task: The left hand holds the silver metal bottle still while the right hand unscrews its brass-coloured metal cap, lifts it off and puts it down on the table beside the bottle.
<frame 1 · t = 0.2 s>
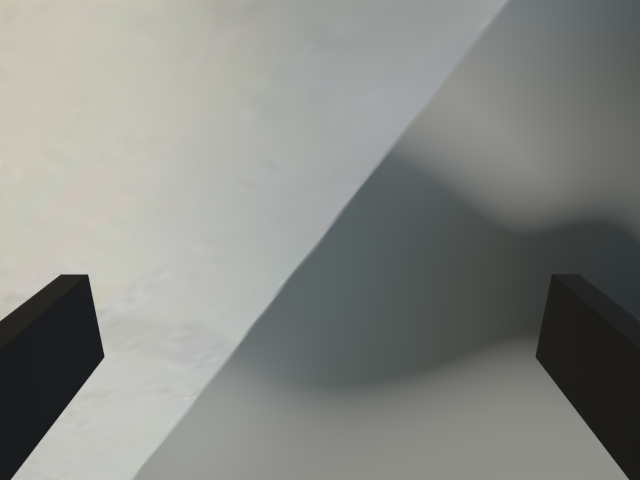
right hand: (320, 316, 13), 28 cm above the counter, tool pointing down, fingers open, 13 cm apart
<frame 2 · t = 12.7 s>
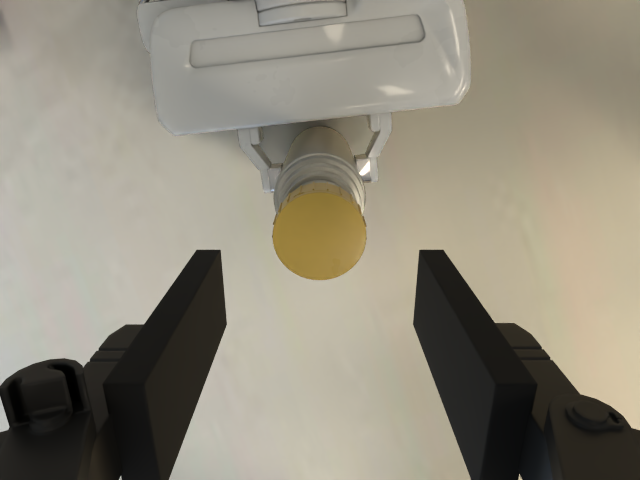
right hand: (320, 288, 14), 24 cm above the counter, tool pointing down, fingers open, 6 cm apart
left hand: (321, 185, 32), fingers closed on bottle, 5 cm apart
cap: (319, 235, 19), point 19 cm above the counter, screwed on, not yet turned
bottle: (319, 158, 37), on the counter, touching left hand
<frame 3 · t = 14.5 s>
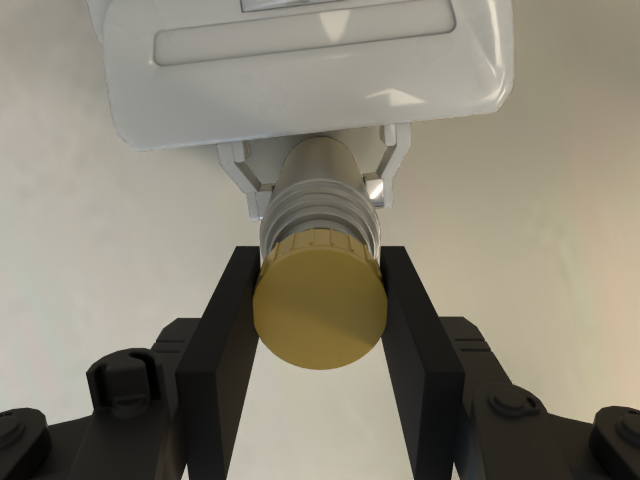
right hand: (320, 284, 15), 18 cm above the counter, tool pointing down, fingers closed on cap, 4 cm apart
left hand: (322, 211, 26), fingers closed on bottle, 5 cm apart
cap: (320, 308, 13), point 19 cm above the counter, screwed on, not yet turned, touching right hand
bottle: (320, 174, 31), on the counter, touching left hand
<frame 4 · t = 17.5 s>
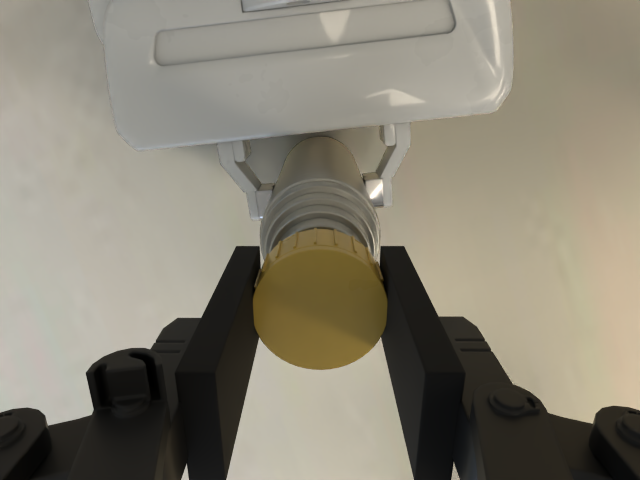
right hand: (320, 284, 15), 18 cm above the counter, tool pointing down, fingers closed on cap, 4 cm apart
left hand: (322, 211, 26), fingers closed on bottle, 5 cm apart
cap: (320, 308, 13), point 19 cm above the counter, turned 100° so far, risen 0.1 cm, still on its thread, touching right hand
bottle: (320, 173, 31), on the counter, touching left hand
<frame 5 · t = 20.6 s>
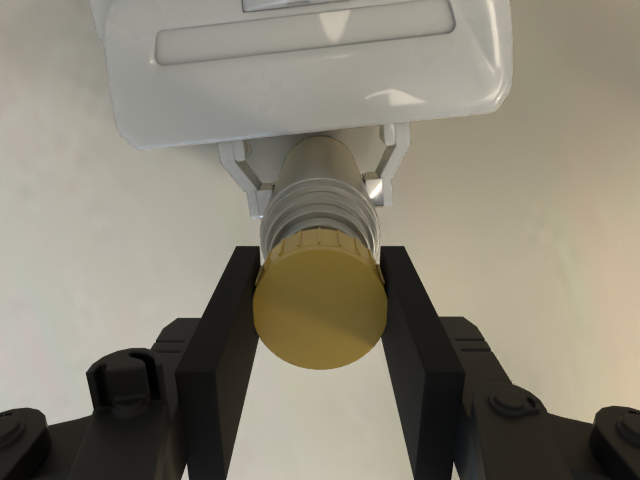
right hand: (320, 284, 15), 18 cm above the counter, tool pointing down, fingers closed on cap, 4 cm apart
left hand: (322, 210, 26), fingers closed on bottle, 5 cm apart
cap: (320, 307, 13), point 19 cm above the counter, turned 199° so far, risen 0.2 cm, still on its thread, touching right hand
bottle: (320, 173, 31), on the counter, touching left hand
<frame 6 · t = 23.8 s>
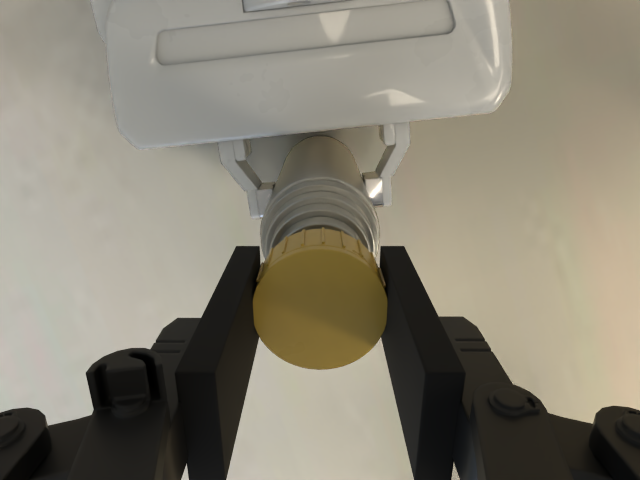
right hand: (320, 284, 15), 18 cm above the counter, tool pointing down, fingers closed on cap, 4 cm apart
left hand: (322, 210, 26), fingers closed on bottle, 5 cm apart
cap: (320, 307, 13), point 19 cm above the counter, turned 299° so far, risen 0.3 cm, still on its thread, touching right hand
bottle: (320, 173, 32), on the counter, touching left hand
when the right hand's fingers open (1 cm above the counter, at t = 30.1 s): cap drops 1 cm, point 2 cm above the counter.
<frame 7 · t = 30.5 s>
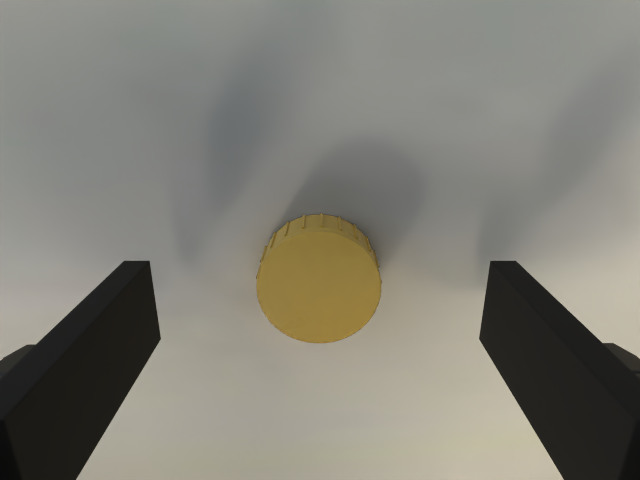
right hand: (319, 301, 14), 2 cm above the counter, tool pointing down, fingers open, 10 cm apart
cap: (318, 286, 15), point 2 cm above the counter, off its thread
when the left hand's fingers open (6 cm above the counter, at t = 31.4 s): bottle stays where it is, on the counter.
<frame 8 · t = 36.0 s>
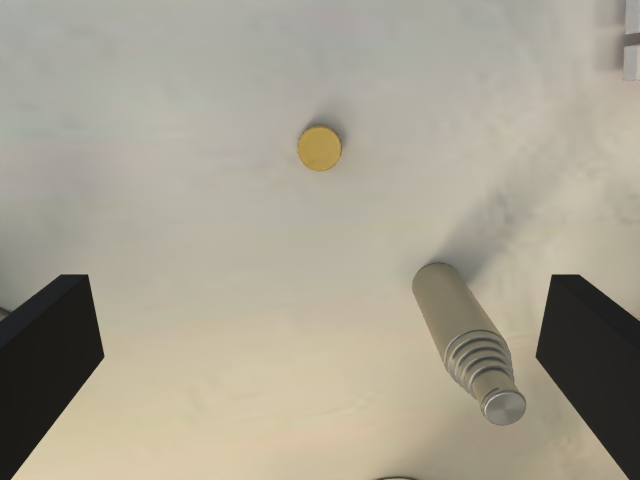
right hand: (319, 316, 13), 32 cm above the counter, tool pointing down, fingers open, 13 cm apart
cap: (319, 149, 41), point 2 cm above the counter, off its thread
bottle: (436, 284, 48), on the counter
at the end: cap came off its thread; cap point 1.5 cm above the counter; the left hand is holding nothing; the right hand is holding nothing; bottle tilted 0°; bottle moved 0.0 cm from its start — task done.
